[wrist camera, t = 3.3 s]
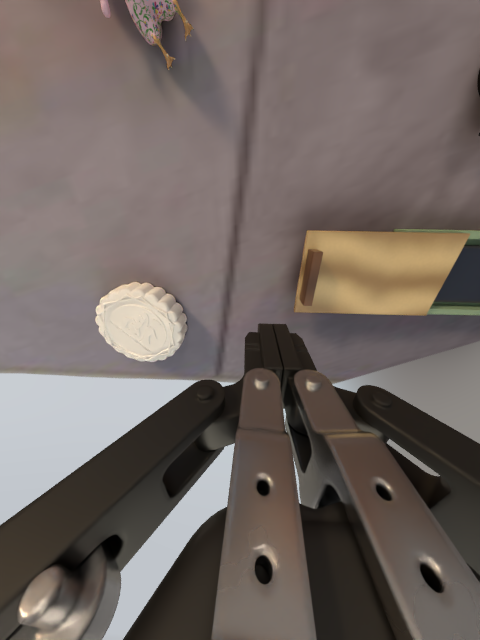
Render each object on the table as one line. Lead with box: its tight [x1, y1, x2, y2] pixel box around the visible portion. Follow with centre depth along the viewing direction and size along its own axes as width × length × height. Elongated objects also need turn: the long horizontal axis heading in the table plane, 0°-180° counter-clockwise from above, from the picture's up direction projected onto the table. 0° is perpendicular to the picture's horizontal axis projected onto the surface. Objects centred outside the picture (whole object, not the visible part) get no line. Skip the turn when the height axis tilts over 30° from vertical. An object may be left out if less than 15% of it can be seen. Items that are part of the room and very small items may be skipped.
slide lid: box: [294, 230, 470, 316], centre depth 21 cm, size 10×17×3 cm, turn 89°
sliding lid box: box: [393, 229, 480, 315], centre depth 23 cm, size 10×17×2 cm, turn 89°
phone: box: [434, 245, 480, 303], centre depth 23 cm, size 7×15×1 cm, turn 89°
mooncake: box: [95, 282, 187, 362], centre depth 27 cm, size 12×12×4 cm
